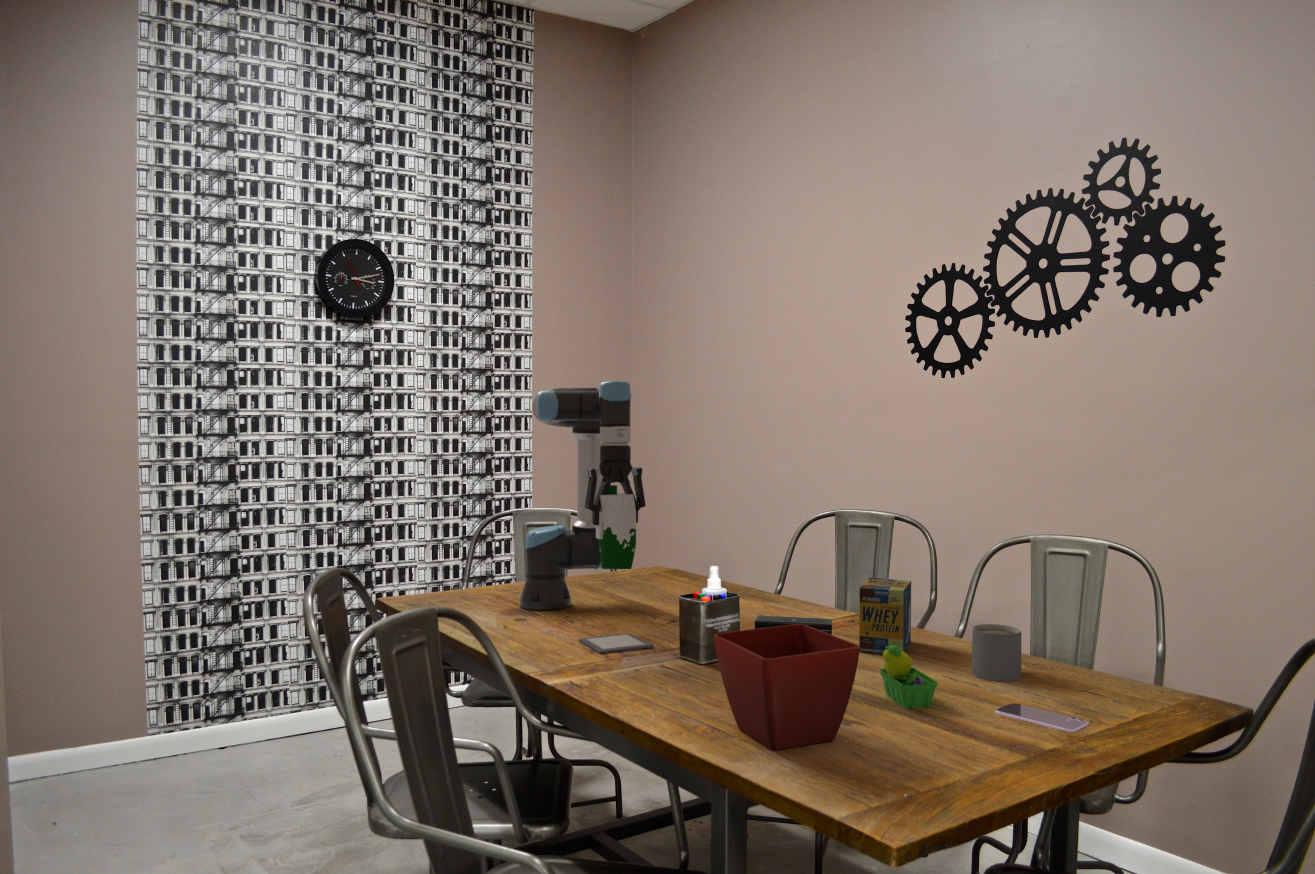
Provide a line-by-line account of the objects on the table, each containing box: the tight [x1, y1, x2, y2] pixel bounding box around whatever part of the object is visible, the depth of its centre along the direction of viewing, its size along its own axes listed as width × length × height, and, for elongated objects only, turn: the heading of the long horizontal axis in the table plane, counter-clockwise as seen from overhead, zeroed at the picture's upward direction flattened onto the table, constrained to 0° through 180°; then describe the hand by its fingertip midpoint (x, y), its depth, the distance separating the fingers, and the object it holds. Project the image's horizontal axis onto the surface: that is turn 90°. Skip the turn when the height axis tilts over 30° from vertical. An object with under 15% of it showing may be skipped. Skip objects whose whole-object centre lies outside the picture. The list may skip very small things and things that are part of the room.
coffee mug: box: [971, 623, 1022, 683], centre depth 200 cm, size 13×10×10 cm
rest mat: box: [578, 633, 654, 655], centre depth 227 cm, size 14×14×1 cm
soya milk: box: [599, 484, 637, 570], centre depth 226 cm, size 9×9×20 cm
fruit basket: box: [879, 645, 938, 710], centre depth 181 cm, size 11×9×11 cm
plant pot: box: [713, 623, 861, 751], centre depth 161 cm, size 19×19×17 cm
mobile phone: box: [994, 702, 1090, 733], centre depth 171 cm, size 8×1×15 cm
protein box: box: [858, 577, 912, 655], centre depth 224 cm, size 10×15×16 cm
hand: (615, 537), depth 226 cm, fingers closed on soya milk, 8 cm apart
